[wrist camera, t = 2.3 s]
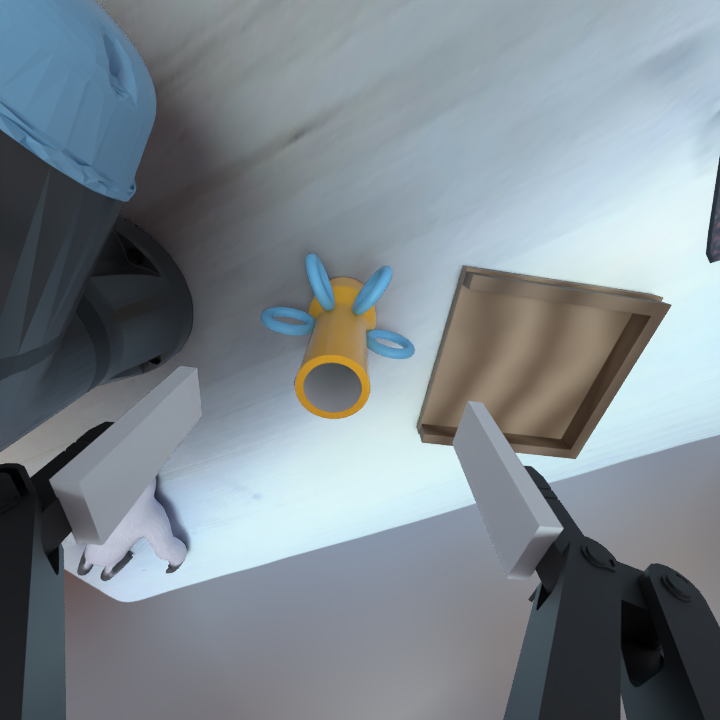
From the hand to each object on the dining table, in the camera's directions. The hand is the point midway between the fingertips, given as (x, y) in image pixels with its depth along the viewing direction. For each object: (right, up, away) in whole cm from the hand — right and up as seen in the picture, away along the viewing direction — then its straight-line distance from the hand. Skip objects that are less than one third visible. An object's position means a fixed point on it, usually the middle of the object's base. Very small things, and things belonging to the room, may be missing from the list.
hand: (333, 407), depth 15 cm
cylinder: (0, +8, +15) cm, 17 cm away
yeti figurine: (-31, -19, +28) cm, 46 cm away
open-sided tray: (+19, +2, +18) cm, 26 cm away
